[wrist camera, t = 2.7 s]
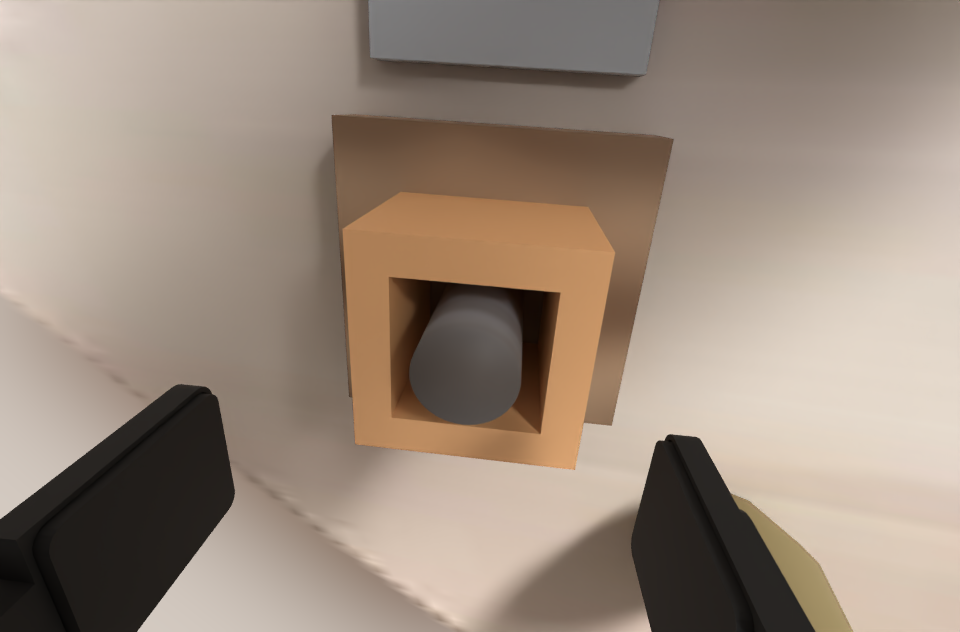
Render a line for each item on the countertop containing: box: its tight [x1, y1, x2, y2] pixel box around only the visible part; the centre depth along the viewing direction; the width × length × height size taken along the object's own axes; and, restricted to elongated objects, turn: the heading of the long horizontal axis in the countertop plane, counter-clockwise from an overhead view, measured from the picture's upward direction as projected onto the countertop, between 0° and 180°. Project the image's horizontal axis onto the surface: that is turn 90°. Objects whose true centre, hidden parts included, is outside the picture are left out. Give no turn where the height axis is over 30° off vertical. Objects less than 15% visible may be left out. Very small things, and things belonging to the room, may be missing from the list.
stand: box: [332, 114, 673, 426], centre depth 17 cm, size 12×12×10 cm
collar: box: [342, 192, 615, 470], centre depth 16 cm, size 7×7×6 cm
